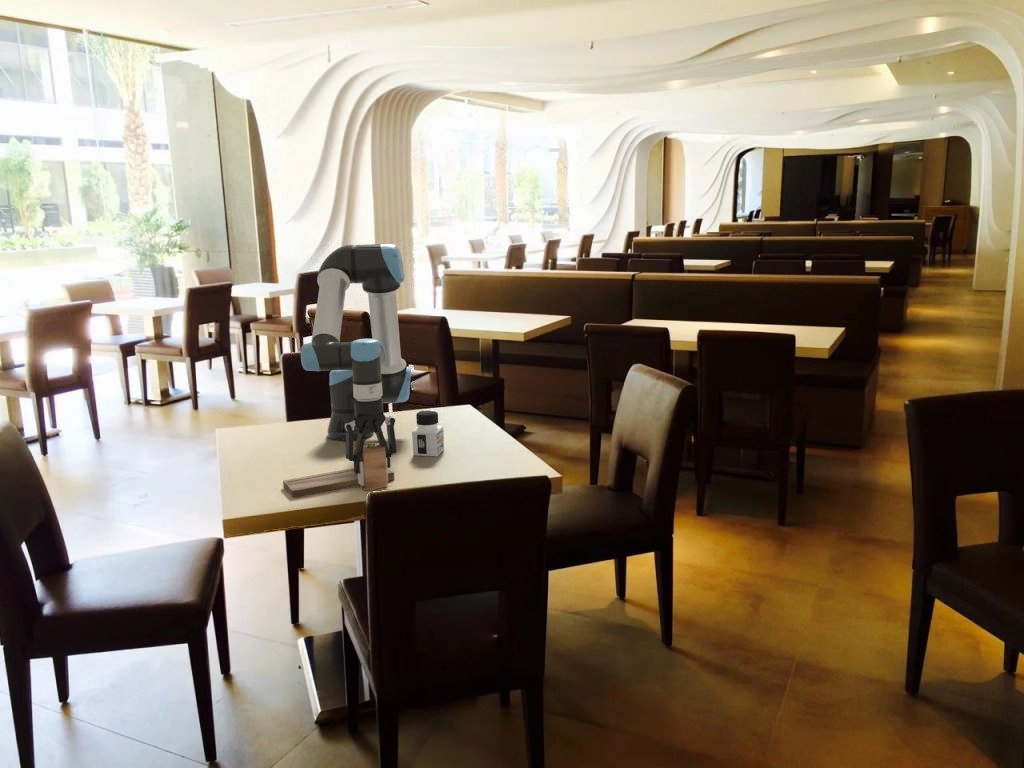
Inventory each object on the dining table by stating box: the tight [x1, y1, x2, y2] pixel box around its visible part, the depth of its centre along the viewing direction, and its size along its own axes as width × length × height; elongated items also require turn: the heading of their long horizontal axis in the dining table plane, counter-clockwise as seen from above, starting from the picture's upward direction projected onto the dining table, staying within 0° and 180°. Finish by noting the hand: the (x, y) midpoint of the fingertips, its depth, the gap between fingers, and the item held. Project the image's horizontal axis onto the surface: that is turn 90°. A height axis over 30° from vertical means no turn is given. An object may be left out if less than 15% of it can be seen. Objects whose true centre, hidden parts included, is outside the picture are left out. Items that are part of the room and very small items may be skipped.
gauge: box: [359, 442, 388, 491], centre depth 223 cm, size 14×6×12 cm, turn 29°
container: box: [411, 409, 445, 457], centre depth 249 cm, size 8×8×13 cm
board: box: [282, 467, 395, 499], centre depth 224 cm, size 10×28×2 cm, turn 119°
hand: (373, 481), depth 220 cm, fingers closed on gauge, 6 cm apart
